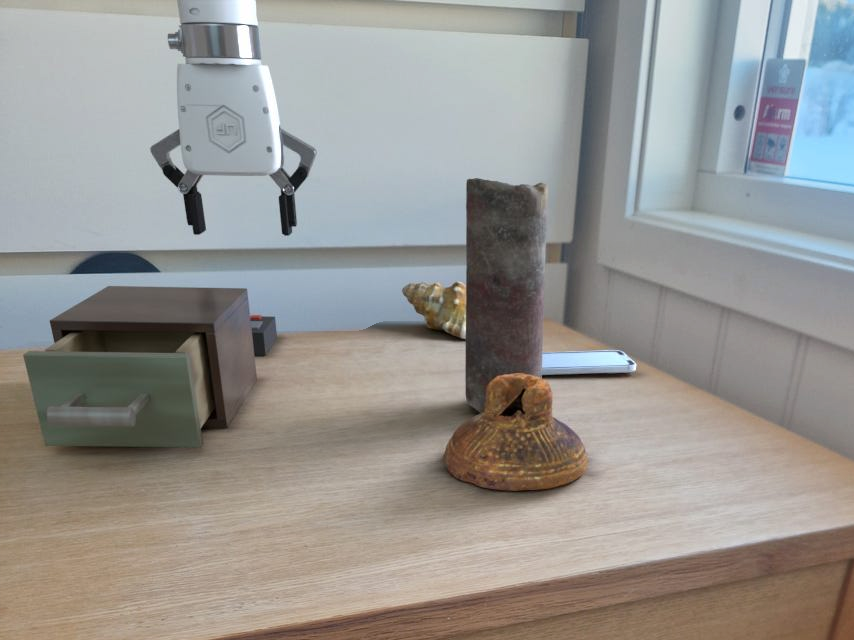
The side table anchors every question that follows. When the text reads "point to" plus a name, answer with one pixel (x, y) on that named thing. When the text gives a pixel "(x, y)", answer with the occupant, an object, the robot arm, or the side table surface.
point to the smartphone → (586, 362)
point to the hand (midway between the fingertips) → (243, 233)
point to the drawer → (123, 389)
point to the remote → (263, 333)
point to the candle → (503, 282)
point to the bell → (516, 440)
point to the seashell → (440, 305)
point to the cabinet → (180, 330)
